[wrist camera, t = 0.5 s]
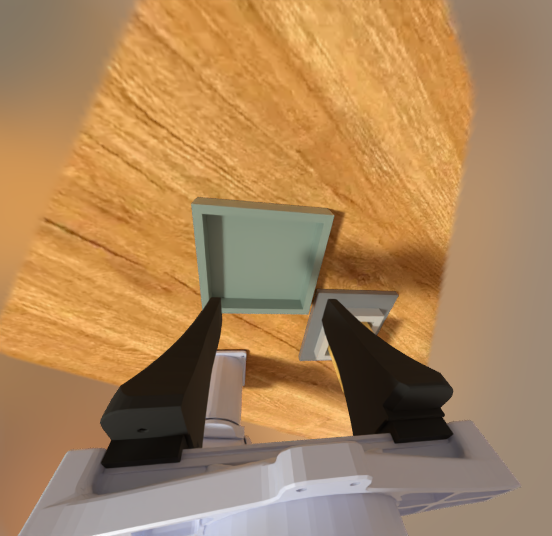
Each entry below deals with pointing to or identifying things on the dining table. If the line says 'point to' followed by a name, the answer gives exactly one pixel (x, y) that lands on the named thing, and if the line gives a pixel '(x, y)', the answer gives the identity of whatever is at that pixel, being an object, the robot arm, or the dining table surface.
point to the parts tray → (259, 254)
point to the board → (358, 302)
